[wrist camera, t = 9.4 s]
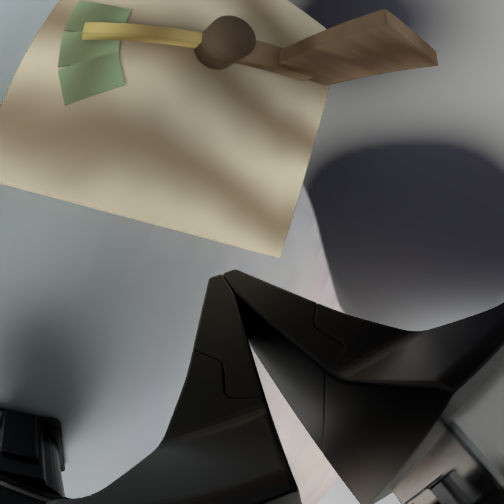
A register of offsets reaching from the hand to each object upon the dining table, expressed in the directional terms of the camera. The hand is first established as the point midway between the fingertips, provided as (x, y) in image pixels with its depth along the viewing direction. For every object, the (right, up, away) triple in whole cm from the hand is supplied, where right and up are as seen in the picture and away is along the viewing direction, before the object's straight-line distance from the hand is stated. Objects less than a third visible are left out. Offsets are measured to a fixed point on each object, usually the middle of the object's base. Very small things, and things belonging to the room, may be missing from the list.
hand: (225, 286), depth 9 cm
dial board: (-3, +13, +8) cm, 15 cm away
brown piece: (-2, +14, +7) cm, 16 cm away
